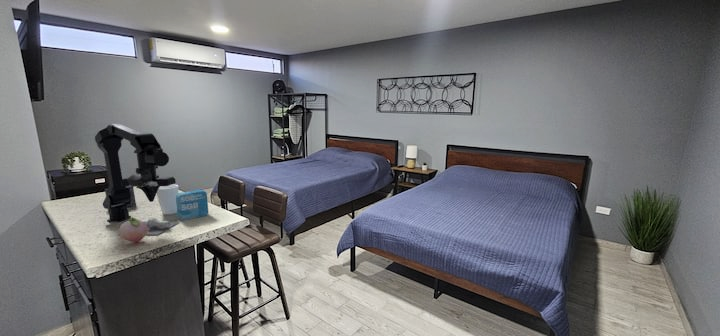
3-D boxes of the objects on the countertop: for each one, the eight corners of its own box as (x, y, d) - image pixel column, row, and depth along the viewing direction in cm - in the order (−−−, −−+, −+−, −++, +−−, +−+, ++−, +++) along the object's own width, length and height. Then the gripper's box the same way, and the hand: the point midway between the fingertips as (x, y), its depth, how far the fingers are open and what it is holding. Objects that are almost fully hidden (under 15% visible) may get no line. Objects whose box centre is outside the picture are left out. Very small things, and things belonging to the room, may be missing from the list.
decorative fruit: (116, 244, 111) (112, 218, 110) (141, 236, 118) (138, 212, 117) (127, 250, 107) (123, 223, 105) (153, 241, 113) (150, 216, 112)
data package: (180, 221, 135) (177, 195, 133) (178, 218, 138) (175, 193, 136) (208, 215, 143) (206, 190, 141) (205, 212, 147) (203, 188, 144)
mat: (118, 235, 119) (118, 234, 119) (143, 222, 133) (143, 221, 133) (158, 235, 119) (158, 234, 119) (179, 222, 133) (179, 221, 133)
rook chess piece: (152, 215, 127) (170, 217, 126) (155, 224, 129) (172, 226, 128) (145, 221, 123) (163, 223, 122) (147, 230, 124) (165, 232, 124)
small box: (132, 203, 161) (129, 184, 159) (136, 205, 157) (134, 186, 155) (107, 208, 153) (104, 188, 151) (111, 210, 149) (108, 190, 147)
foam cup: (183, 208, 153) (180, 183, 150) (178, 214, 144) (175, 188, 142) (161, 210, 150) (158, 185, 147) (155, 216, 141) (152, 189, 139)
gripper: (107, 168, 113) (113, 207, 116) (156, 168, 113) (161, 207, 116) (129, 163, 124) (134, 199, 127) (174, 163, 124) (178, 199, 127)
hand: (151, 201), depth 124 cm, fingers closed
